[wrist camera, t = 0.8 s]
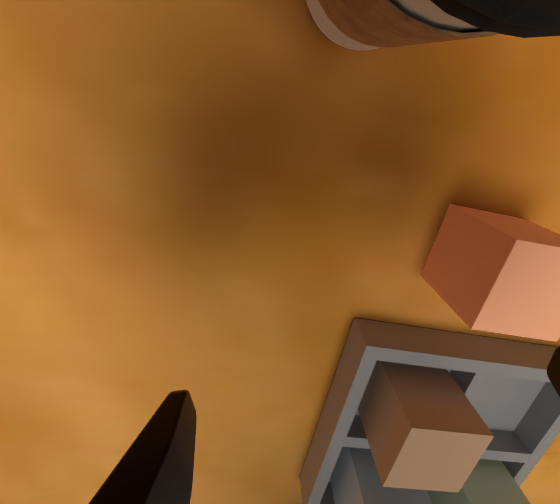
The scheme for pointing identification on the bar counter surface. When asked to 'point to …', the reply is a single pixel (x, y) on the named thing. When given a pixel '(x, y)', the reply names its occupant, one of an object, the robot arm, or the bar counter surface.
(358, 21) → the coffee cup
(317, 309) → the bar counter surface
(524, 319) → the terracotta block
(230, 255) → the bar counter surface
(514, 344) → the grid tray
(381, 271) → the bar counter surface
